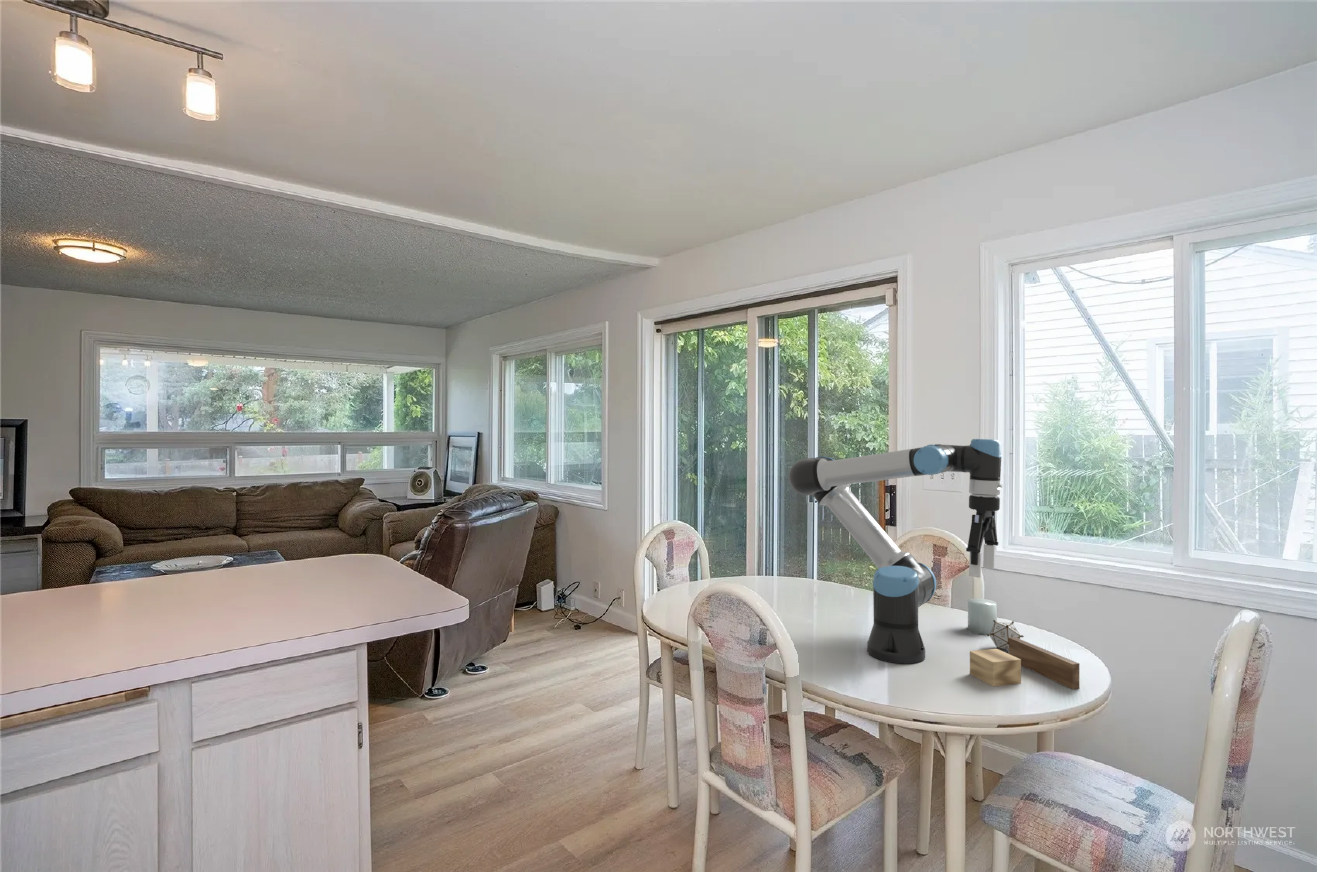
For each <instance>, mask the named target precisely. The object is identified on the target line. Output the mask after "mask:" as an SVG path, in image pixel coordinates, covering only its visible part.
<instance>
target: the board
mask: <svg viewBox="0 0 1317 872" xmlns="http://www.w3.org/2000/svg"><path fill="white" fill-rule="evenodd" d="M1008 654H1010V655H1012V656H1014V657H1017V658H1019V659H1021V667H1023V668H1026V669H1028V670H1030V671H1032V672H1034V673H1037V674H1038V675H1040V676H1043V677H1045V678H1046V679H1047V678H1048V679H1049V680H1052V681H1053V682H1056V683H1058V684H1061V685H1063V686H1065V687H1067V688H1069V689H1071V690H1078V689H1080V663H1079V662H1076V661H1074V660H1072V659H1069V658H1067V657H1065V656H1062V655H1060V654H1056V653H1055V652H1053V651H1049V650H1047V649H1046V648H1043V647H1040V646H1038V645H1035V644H1033V643H1030V642H1027V641H1025V640H1024V639H1023V640H1022V639H1021V638H1020V639H1018V638H1016V637H1011V638H1009V649H1008Z"/></svg>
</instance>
